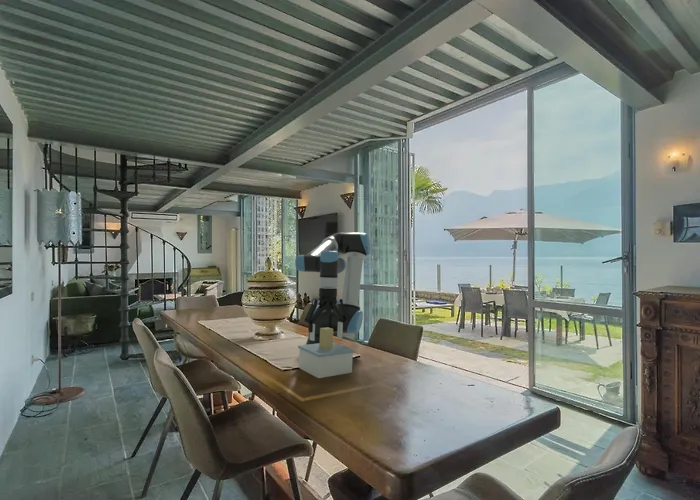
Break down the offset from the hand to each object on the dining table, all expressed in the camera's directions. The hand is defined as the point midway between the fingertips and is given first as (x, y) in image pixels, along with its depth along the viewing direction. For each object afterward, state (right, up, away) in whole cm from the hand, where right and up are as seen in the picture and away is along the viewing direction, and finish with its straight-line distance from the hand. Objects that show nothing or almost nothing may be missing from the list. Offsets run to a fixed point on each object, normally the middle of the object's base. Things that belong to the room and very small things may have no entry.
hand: (326, 338), depth 159 cm
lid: (0, -5, 0) cm, 5 cm away
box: (0, -14, 0) cm, 14 cm away
